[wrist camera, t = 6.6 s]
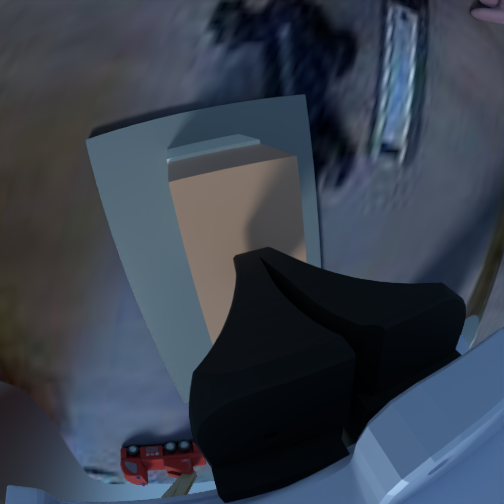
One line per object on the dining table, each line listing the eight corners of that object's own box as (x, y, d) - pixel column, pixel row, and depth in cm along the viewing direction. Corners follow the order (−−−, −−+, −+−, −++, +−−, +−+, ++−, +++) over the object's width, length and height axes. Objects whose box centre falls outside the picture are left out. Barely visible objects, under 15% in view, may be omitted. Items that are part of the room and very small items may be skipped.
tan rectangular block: (260, 143, 15) (296, 155, 11) (279, 283, 18) (310, 330, 14) (167, 162, 14) (168, 182, 10) (203, 303, 17) (216, 358, 14)
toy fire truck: (116, 444, 29) (119, 516, 20) (231, 432, 32) (253, 502, 23) (125, 457, 30) (129, 524, 22) (232, 445, 33) (253, 511, 25)
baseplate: (301, 94, 19) (305, 94, 18) (320, 358, 30) (323, 362, 29) (87, 139, 17) (85, 139, 16) (184, 398, 27) (184, 403, 27)
